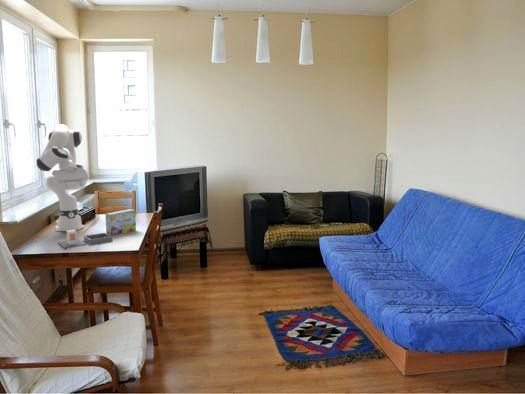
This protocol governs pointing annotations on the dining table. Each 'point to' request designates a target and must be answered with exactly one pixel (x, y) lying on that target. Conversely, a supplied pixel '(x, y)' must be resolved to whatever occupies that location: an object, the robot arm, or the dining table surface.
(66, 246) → the blue-grey board
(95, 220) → the dining table surface
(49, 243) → the dining table surface
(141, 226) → the dining table surface
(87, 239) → the parts bin
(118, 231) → the snack box
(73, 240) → the cream carton
